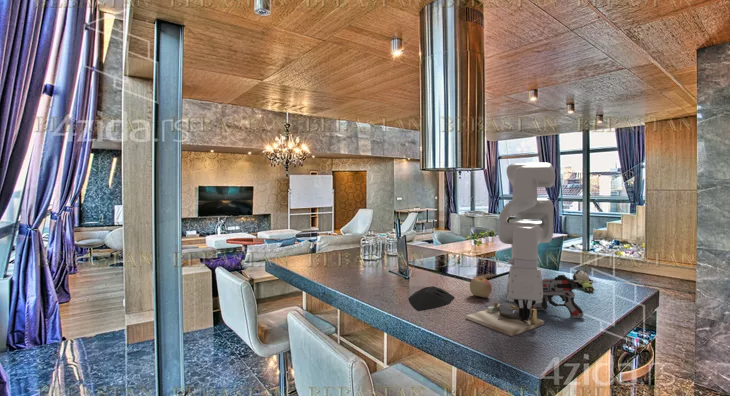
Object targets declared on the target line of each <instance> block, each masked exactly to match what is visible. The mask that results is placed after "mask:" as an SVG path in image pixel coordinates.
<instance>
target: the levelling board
mask: <svg viewBox="0 0 730 396" xmlns="http://www.w3.org/2000/svg"><path fill="white" fill-rule="evenodd" d="M500 304H501V303H498V302H494V303H493V305H491V306H486V307H487V308H486V309H483V310H480V311H477V312H473V313H470V314H466V315H465V316H466V320H469V321H472V322H474V323H477V324H479V325H482V326H484V327H487V328H490V329H492V330H495V331H498V332H500V333H501V334H505V335H507V336H510V337H513V336H516V335H518V334H521V333H524V332H527V331H530V330H532V329H535V328H537V327H540V326H543V325H545V320H543V319H539V318H537V325H531V320H529V319H528V321H526V320H524V321H522V319H510V318H506V317H503V316H501V315H500V314H499V305H500Z"/></svg>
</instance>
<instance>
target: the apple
mask: <svg viewBox="0 0 730 396" xmlns="http://www.w3.org/2000/svg"><path fill="white" fill-rule="evenodd" d="M492 287H493V286H492V283H491V282H490V280H488V279H487V278H485V277H480V276H476V277H474V278H472V279H471V280H470V283H469V289H470V291H469V292H470V293H471V294H472V295H473V296H476V297H481V298H488V297H489V296H490V294H491V293H492Z"/></svg>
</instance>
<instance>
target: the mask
mask: <svg viewBox="0 0 730 396" xmlns="http://www.w3.org/2000/svg"><path fill="white" fill-rule="evenodd" d="M455 298H456V297H455V296H454V295H452V294H450V293H449V292H448V291H446V290H444V289H442V288H440V287H436V286H433V285H431V286H427V287H423V288H421V289H418V290H417V291H415V292H414V293H413V294H411V295H410V296H408V302H409V304H410V305H411V307H413V309H414V310H415V311H417V312H422V311H429V310H434V309H438V308H442V307H445V306H448V305H450V304H451V303H452V302H453V300H455Z"/></svg>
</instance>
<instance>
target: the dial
mask: <svg viewBox="0 0 730 396" xmlns="http://www.w3.org/2000/svg"><path fill="white" fill-rule="evenodd" d="M499 304H500V305H499V314H500V315H501V316H503V317H506V318H510V319H521V317H519V306H518V305H517V304H516V303H509V302H508V303H507V302H506V303H499ZM537 316H538V310H537V309H534V308H531V310H530V317H529V318H528V319H529V320H531V325H537V319H538V317H537Z"/></svg>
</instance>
